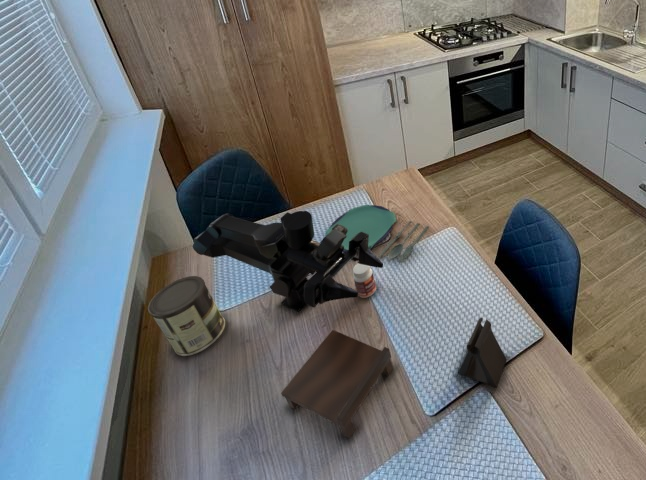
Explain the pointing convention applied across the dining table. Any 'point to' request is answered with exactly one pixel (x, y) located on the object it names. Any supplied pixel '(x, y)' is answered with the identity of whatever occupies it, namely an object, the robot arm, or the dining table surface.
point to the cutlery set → (374, 228)
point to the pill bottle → (364, 280)
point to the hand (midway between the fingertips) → (370, 279)
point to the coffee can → (187, 315)
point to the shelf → (338, 379)
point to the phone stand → (483, 356)
